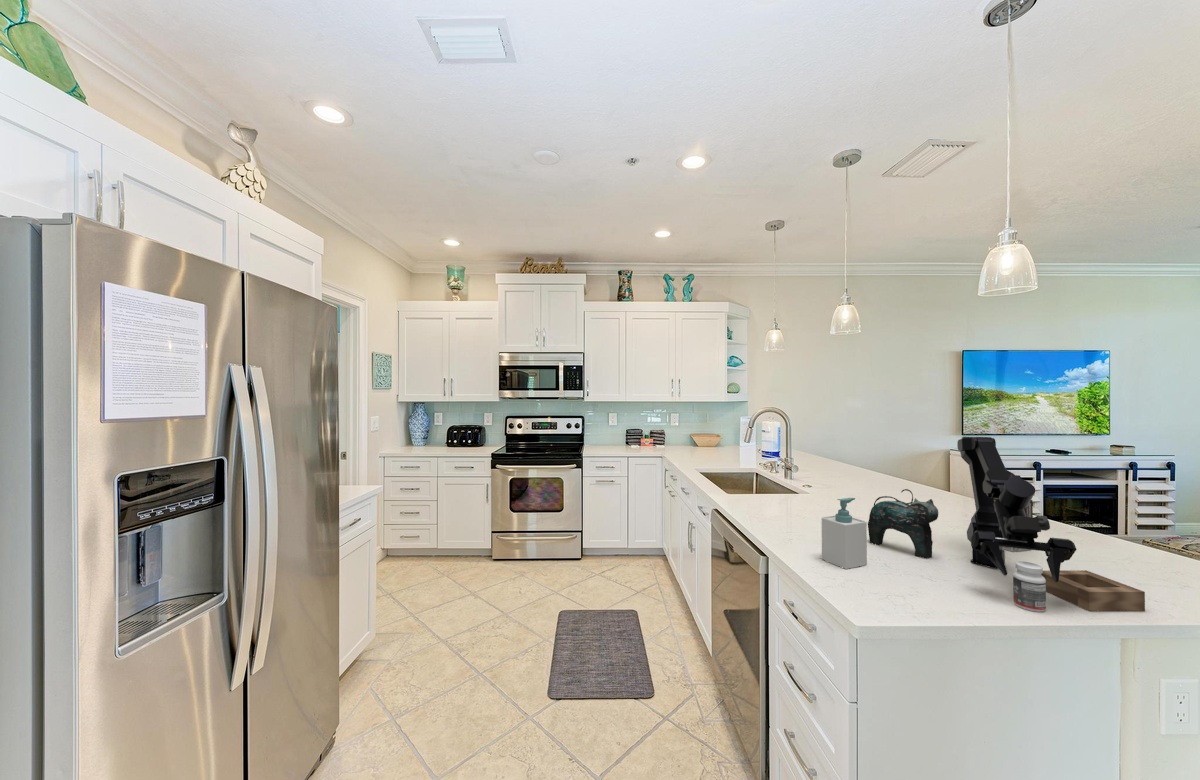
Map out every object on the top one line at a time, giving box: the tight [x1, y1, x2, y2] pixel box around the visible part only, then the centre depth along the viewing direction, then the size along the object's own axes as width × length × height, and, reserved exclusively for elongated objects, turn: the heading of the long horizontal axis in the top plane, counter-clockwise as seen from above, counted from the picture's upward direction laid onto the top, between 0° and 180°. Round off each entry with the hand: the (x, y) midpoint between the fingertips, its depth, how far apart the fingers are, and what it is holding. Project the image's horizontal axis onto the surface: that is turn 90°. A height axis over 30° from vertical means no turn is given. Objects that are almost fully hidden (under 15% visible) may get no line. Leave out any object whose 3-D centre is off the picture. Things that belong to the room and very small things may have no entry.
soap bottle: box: [821, 497, 868, 570], centre depth 138 cm, size 9×9×19 cm
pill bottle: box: [1012, 561, 1047, 613], centre depth 109 cm, size 6×6×10 cm
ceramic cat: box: [867, 488, 939, 560], centre depth 148 cm, size 20×6×20 cm, turn 28°
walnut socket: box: [1041, 569, 1146, 612], centre depth 113 cm, size 13×13×4 cm
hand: (1030, 578), depth 108 cm, fingers open, 9 cm apart
